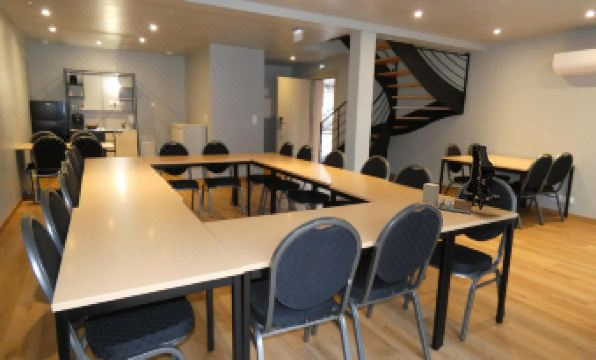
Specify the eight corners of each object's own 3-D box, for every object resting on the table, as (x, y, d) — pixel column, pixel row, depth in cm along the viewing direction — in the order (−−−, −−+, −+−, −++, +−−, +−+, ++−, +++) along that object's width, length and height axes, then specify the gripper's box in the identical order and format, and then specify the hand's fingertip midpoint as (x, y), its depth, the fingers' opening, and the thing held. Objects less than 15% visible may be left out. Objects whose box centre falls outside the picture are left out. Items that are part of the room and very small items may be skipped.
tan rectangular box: (454, 206, 234) (455, 199, 233) (471, 209, 229) (472, 201, 228) (453, 208, 230) (454, 200, 229) (470, 211, 225) (472, 203, 224)
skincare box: (437, 208, 233) (440, 185, 231) (431, 209, 230) (434, 185, 227) (426, 204, 240) (429, 182, 238) (420, 205, 237) (423, 183, 234)
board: (441, 204, 242) (442, 197, 241) (471, 209, 234) (472, 202, 233) (438, 209, 229) (439, 202, 228) (470, 214, 221) (471, 207, 220)
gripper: (466, 184, 219) (462, 210, 222) (501, 189, 211) (497, 215, 214) (467, 182, 229) (464, 206, 232) (501, 186, 220) (497, 211, 223)
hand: (480, 209), depth 225 cm, fingers closed
